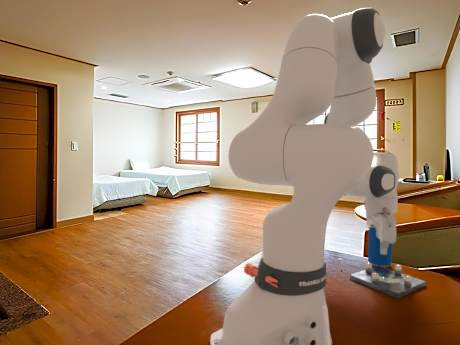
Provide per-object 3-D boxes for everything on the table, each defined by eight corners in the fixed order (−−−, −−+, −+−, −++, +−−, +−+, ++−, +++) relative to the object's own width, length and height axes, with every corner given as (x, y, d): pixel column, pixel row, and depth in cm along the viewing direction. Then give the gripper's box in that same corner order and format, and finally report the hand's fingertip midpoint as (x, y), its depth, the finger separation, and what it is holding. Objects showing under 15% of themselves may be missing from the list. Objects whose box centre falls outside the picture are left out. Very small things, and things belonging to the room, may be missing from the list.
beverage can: (393, 264, 92) (394, 226, 92) (388, 270, 87) (389, 229, 87) (371, 259, 97) (372, 222, 96) (365, 264, 92) (366, 226, 91)
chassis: (397, 298, 70) (398, 283, 70) (349, 279, 81) (350, 266, 81) (425, 285, 77) (426, 272, 77) (377, 269, 88) (378, 257, 88)
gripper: (403, 212, 80) (401, 262, 81) (383, 201, 100) (381, 241, 101) (378, 210, 82) (376, 260, 82) (363, 200, 102) (362, 240, 102)
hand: (379, 249), depth 92 cm, fingers open, 6 cm apart
